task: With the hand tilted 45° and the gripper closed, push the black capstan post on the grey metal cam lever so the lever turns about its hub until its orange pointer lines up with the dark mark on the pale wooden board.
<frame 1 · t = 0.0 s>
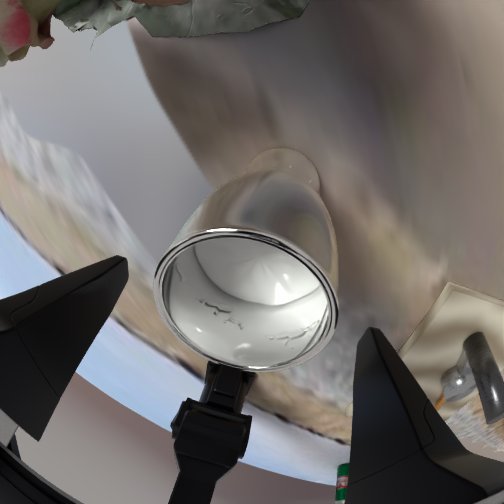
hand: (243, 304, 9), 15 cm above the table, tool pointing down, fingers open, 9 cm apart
dial board: (449, 369, 30), on the table
cam lever: (463, 408, 23), point 7 cm above the table, hinge at 0.0°
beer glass: (282, 183, 22), on the table
soda can: (347, 464, 53), on the table
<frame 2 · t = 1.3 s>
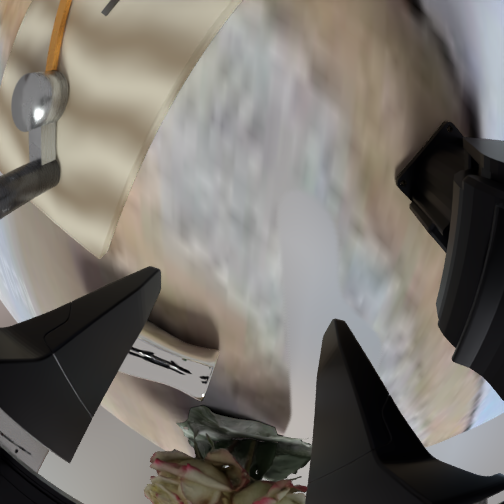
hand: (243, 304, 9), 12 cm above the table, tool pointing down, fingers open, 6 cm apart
dial board: (67, 85, 17), on the table
rose bouquet: (233, 436, 44), on the table
cam lever: (2, 102, 11), point 7 cm above the table, hinge at 0.0°
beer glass: (212, 377, 28), point 3 cm above the table
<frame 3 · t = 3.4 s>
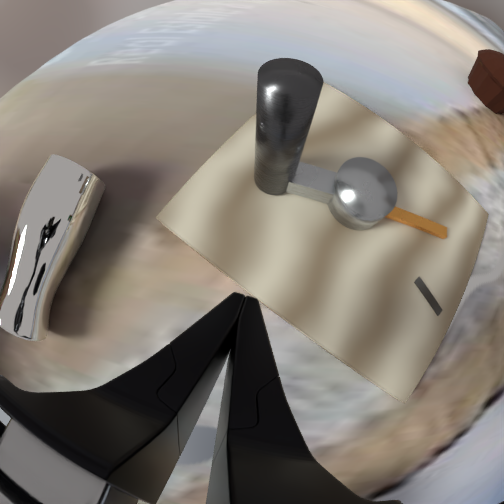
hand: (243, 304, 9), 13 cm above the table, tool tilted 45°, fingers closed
muffin: (485, 95, 30), on the table
dial board: (357, 216, 24), on the table
cam lever: (388, 172, 17), point 7 cm above the table, hinge at 0.0°
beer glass: (18, 326, 18), point 3 cm above the table
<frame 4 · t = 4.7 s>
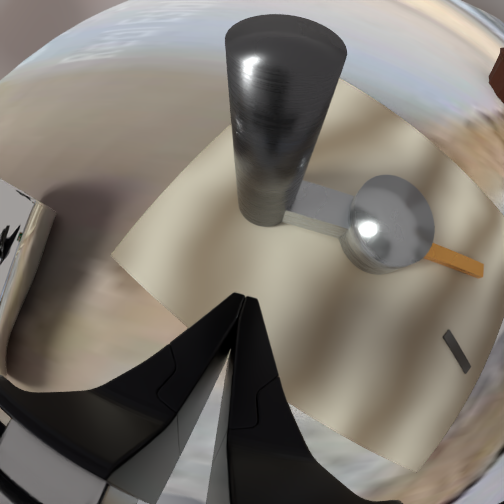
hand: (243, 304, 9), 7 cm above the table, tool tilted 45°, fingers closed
dial board: (375, 250, 18), on the table
cam lever: (430, 202, 11), point 7 cm above the table, hinge at 0.0°
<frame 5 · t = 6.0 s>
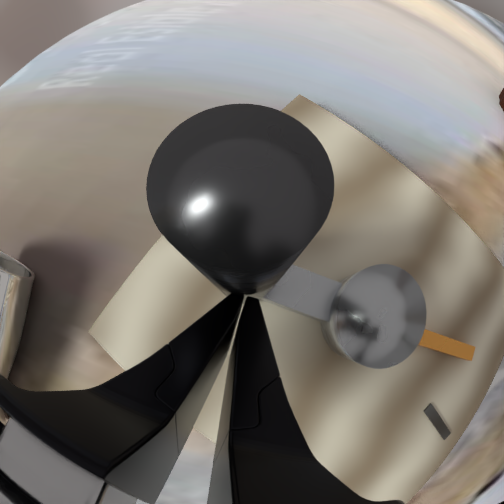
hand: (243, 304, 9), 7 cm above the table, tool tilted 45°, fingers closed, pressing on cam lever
dial board: (362, 326, 16), on the table
cam lever: (421, 318, 9), point 7 cm above the table, hinge at -5.1°, touching gripper
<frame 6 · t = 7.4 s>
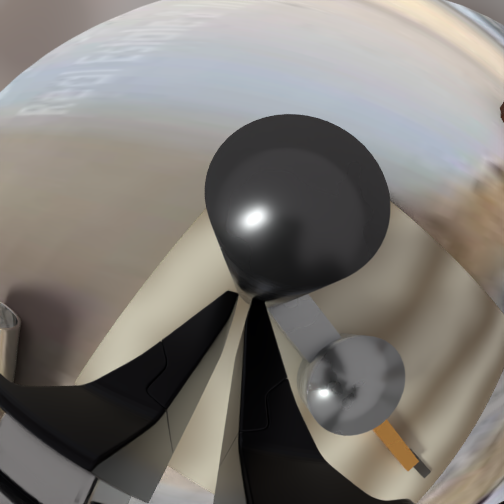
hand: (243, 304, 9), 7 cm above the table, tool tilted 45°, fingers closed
dial board: (343, 379, 16), on the table
cam lever: (389, 408, 9), point 7 cm above the table, hinge at -37.4°, touching gripper
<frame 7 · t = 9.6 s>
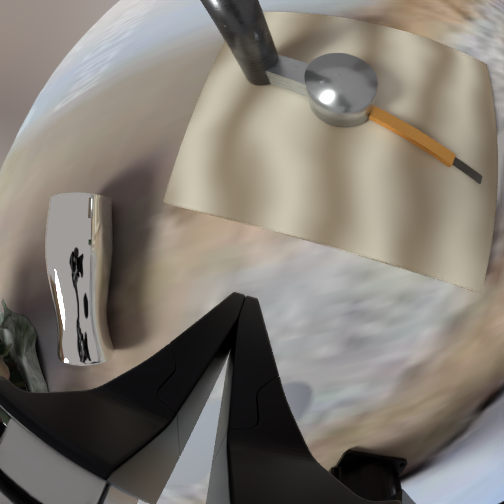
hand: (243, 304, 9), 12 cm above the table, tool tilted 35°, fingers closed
dial board: (353, 114, 20), on the table
rose bouquet: (17, 361, 32), on the table
cam lever: (347, 57, 13), point 7 cm above the table, hinge at -37.4°
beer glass: (86, 357, 22), point 3 cm above the table
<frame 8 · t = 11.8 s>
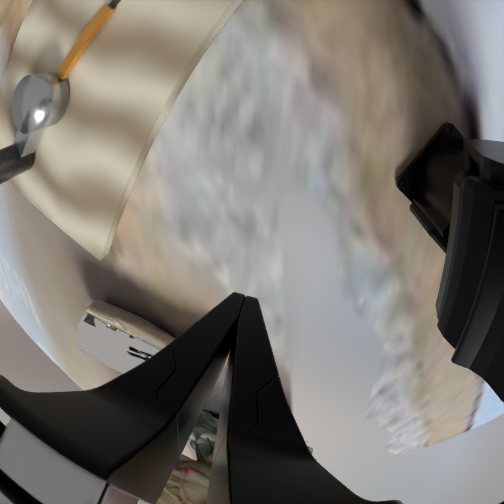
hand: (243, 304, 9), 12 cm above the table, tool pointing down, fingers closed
dial board: (68, 86, 17), on the table
rose bouquet: (233, 439, 45), on the table
cam lever: (3, 105, 12), point 7 cm above the table, hinge at -37.4°
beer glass: (213, 378, 28), point 3 cm above the table
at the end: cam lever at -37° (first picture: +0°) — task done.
